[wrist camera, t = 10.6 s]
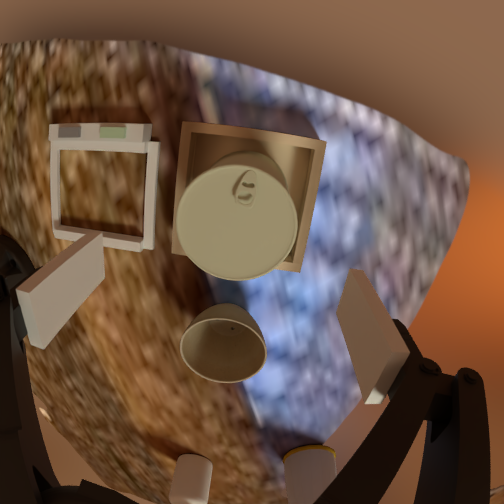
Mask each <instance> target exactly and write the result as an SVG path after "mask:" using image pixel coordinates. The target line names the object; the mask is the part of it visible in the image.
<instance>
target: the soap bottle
mask: <svg viewBox="0 0 504 504" xmlns="http://www.w3.org/2000/svg"><path fill="white" fill-rule="evenodd" d="M335 457H336V454H335V451H334V450H333V449H332V448H330V447H328V446H323V445H307V446H302V447H298V448H295V449H293V450H291V451H289V452H288V453H287V454H285V455H284V458H283V461H282V462H283V463H284V467H285V483H286V491H287V497H288V503H289V504H313V503H314V502H315V501H316V500H317V498H318V497H319V496H320V495H321V494H322V493H323V492H324V490H325V489H326V488H327V487H328V486H329V485H330V483H331V482H332V481H333V480H334V479H335V477H336V465H335Z"/></svg>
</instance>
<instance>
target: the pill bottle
mask: <svg viewBox="0 0 504 504" xmlns="http://www.w3.org/2000/svg"><path fill="white" fill-rule="evenodd" d="M211 474H212V463H211V461H210V460H208V459H207V458H205V457H202V456H199V455H195V454H184V455H181V456H179V458H178V460H177V463H176V467H175V472H174V476H173V480H172V485H171V489H170V494H169V500H170V502H171V503H172V504H207V502H208V495H209V488H210V481H211Z"/></svg>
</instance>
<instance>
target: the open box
mask: <svg viewBox="0 0 504 504" xmlns="http://www.w3.org/2000/svg"><path fill="white" fill-rule="evenodd" d="M326 143H327V142H326V141H322V140H318V139H313V138H308V137H302V136H297V135H291V134H286V133H279V132H273V131H267V130H260V129H253V128H246V127H238V126H230V125H221V124H211V123H201V122H186V121H182V129H181V138H180V147H179V157H178V167H177V178H176V190H175V203H174V218H173V235H172V253H173V254H179V255H185V256H187V255H186V253H185V252H184V250H183V248H182V246H181V244H180V242H179V239H178V236H177V232H176V223H175V218H176V210H177V206H178V203H179V200H180V198H181V195H182V194H183V192H184V190H185V189H186V187H187V186H188V185H189V184H190V183H191V182H192V181H193V180H194V179H195V178H196V177H197V176H198V175H200V174H201V173H203V172H205V171H206V170H208V169H210V168H211V166H212V165H213V164H214V163H215V162H216V161H217V160H219V159H220V158H221V157H223V156H225V155H227V154H229V153H232V152H236V151H254V152H258V153H261V154H263V155H265V156H267V157H269V158H270V159H272V160H273V161H274V162H275V163H276V164H277V165H278V166H279V167H280V169H281V170H282V172H283V174H284V176H285V178H286V181H287V185H288V192H289V194H290V196H291V198H292V200H293V202H294V205H295V208H296V212H297V221H298V228H297V234H296V239H295V242H294V245H293V247H292V249H291V251H290V253H289V254H288V256H287V257H286V258H285V260H284V261H283V262H282V263H281V264H280V265H279V266H278V267H276V268H275V269H279V270H285V271H292V272H299V273H300V270H301V266H302V262H303V257H304V253H305V248H306V244H307V239H308V235H309V230H310V225H311V220H312V216H313V211H314V206H315V201H316V196H317V191H318V186H319V181H320V175H321V170H322V165H323V159H324V154H325V148H326Z"/></svg>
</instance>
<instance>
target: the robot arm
mask: <svg viewBox="0 0 504 504" xmlns="http://www.w3.org/2000/svg"><path fill="white" fill-rule="evenodd" d="M104 278H105V271H104V256H103V234H102V232H97V231H89V232H88V233H87V234H85V235H84V236H82V237H81V238H80V239H78V240H77V241H76V242H74V243H73V244H72V245H70V246H69V247H68V248H66V249H65V250H64V251H62V252H61V253H60V254H58V255H57V256H56V257H54V258H53V259H52V260H51V261H49V262H48V263H47V264H45V265H44V266H42V267H39V268H37V269H34V267H33V265H32V263H31V261H30V260H29V258H28V257H27V255H26V254H25V252H24V251H23V250H22V249H21V247H20V246H19V245H18V244H17V243H15V242H14V241H13V240H11V239H10V238H8V237H6V236H3V235H0V504H139V503H137V502H135V501H133V500H131V499H129V498H127V497H126V496H124V495H122V494H120V493H118V492H117V491H115V490H112V489H109V488H106V487H102V486H100V485H97V484H94V483H92V482H89V481H86V480H84V479H82V481H81V484H80V486H61V485H60V484H59V482H58V480H57V478H56V476H55V475H54V472H53V469H52V466H51V463H50V460H49V457H48V454H47V450H46V447H45V444H44V441H43V437H42V433H41V429H40V425H39V421H38V417H37V413H36V408H35V404H34V399H33V394H32V389H31V383H30V377H29V371H28V364H27V357H26V349H25V344H24V341H23V338H24V337H25V336H26V335H27V334H28V337H29V340H30V343H31V345H33V346H36V347H39V348H41V349H45V348H46V346H47V345H48V344H49V343H50V341H51V340H52V339H53V338H54V336H55V335H56V334H57V333H58V331H59V330H60V329H61V328H62V327H63V325H64V324H65V323H66V322H67V321H68V319H69V318H70V317H71V316H72V315H73V313H74V312H75V311H76V310H77V309H78V308H79V306H80V305H81V304H82V303H83V302H84V301H85V300H86V298H87V297H88V296H89V295H90V294H91V293H92V292H93V290H94V289H95V288H96V287H97V286H98V285H99V284H100V283H101V282H102V280H103V279H104ZM336 314H337V317H338V320H339V323H340V326H341V329H342V332H343V335H344V338H345V342H346V345H347V348H348V351H349V354H350V357H351V360H352V364H353V367H354V370H355V373H356V377H357V380H358V383H359V387H360V390H361V393H362V397H363V400H364V403H365V404H381V403H382V401H383V400H384V398H385V397H386V395H387V393H388V396H389V399H390V402H389V404H388V405H387V407H386V408H385V410H384V412H383V413H382V415H381V416H380V418H379V419H378V421H377V422H376V424H375V425H374V427H373V428H372V430H371V431H370V433H369V434H368V435H367V437H366V438H365V440H364V441H363V442H362V444H361V445H360V447H359V448H358V449H357V451H356V452H355V453H354V455H353V456H352V457H351V459H350V460H349V461H348V462H347V464H346V465H345V466H344V468H343V469H342V470H341V471H340V473H339V474H338V475H337V476H336V477H335V479H334V480H333V481H332V482H331V483H330V485H329V486H328V487H327V488H326V489H325V490H324V492H323V493H322V494H321V495H320V496H319V497H318V498H317V500H316V501H315V502H314V503H313V504H378V503H379V501H380V500H381V498H382V497H383V495H384V493H385V492H386V490H387V489H388V487H389V485H390V484H391V482H392V480H393V478H394V477H395V475H396V473H397V472H398V470H399V468H400V466H401V464H402V462H403V461H404V459H405V457H406V455H407V453H408V451H409V449H410V447H411V445H412V443H413V441H414V439H415V437H416V435H417V433H418V431H419V429H420V427H421V425H422V422H423V420H427V430H426V438H425V445H424V453H423V459H422V465H421V470H420V476H419V481H418V486H417V491H416V495H415V500H414V504H489V503H490V439H489V425H488V414H487V405H486V398H485V390H484V383H483V380H482V377H481V376H480V375H479V373H478V372H476V371H475V370H472V369H470V368H461V369H460V370H459V371H458V372H457V374H456V375H455V376H452V375H448V374H443V373H442V371H441V368H440V367H439V365H438V364H437V363H436V362H434V361H432V360H431V359H428V358H423V356H422V354H421V352H420V351H419V349H418V347H417V345H416V344H415V342H414V341H413V339H412V337H411V335H409V332H408V330H407V328H406V326H405V325H404V324H402V323H401V322H400V321H399V320H398V319H391V317H390V315H389V313H388V312H387V310H386V308H385V306H384V305H383V303H382V301H381V300H380V298H379V296H378V294H377V293H376V291H375V289H374V288H373V286H372V284H371V283H370V281H369V279H368V278H367V276H366V274H365V273H364V271H363V270H357V269H349V273H348V276H347V279H346V283H345V286H344V289H343V293H342V296H341V299H340V302H339V305H338V308H337V312H336Z"/></svg>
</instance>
